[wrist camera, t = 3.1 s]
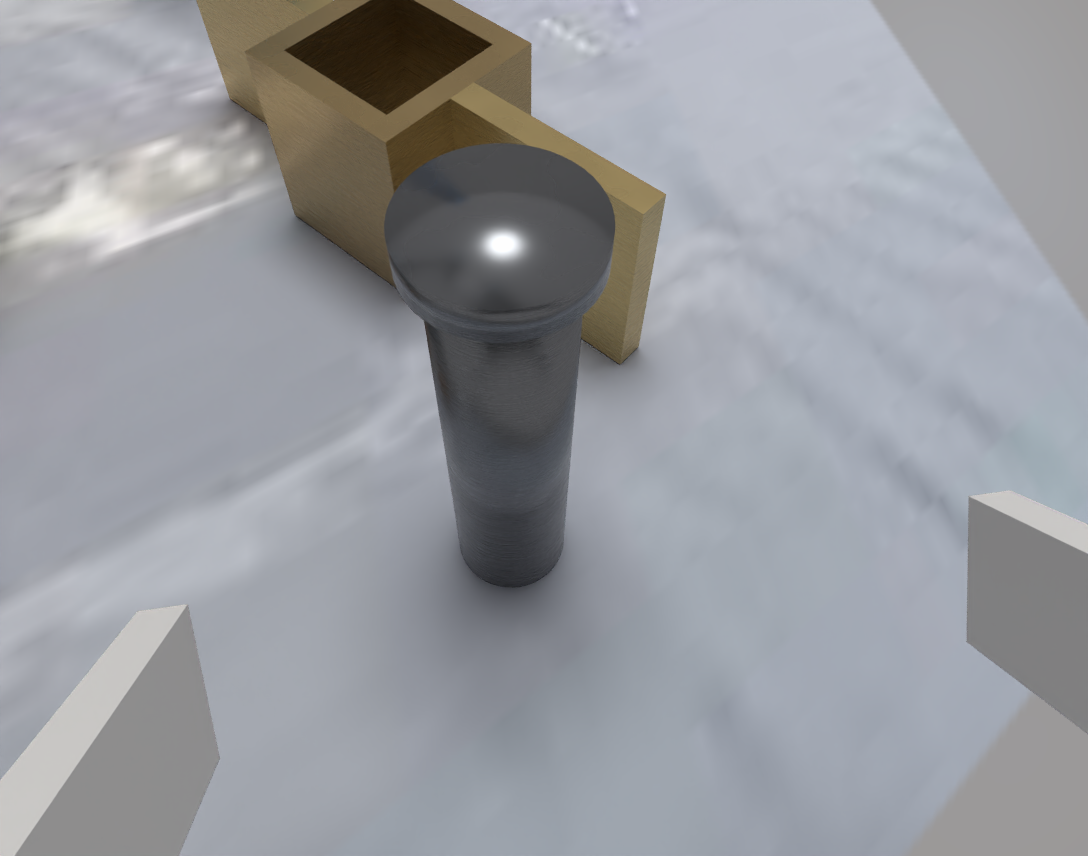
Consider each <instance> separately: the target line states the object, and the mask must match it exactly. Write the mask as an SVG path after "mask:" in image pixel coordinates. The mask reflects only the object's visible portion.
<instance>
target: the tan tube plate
mask: <svg viewBox="0 0 1088 856" xmlns="http://www.w3.org/2000/svg"><path fill="white" fill-rule="evenodd" d="M196 1H197V4H198V7H199V10H200V12H201V15H202V18H203V21H204V24H205V27H206V30H207V33H208V36H209V39H210V42H211V44H212V47H213V50H214V53H215V56H216V59H217V62H218V65H219V68H220V71H221V74H222V77H223V79H224V82H225V85H226V88H227V91H228V94H229V97H230V99H231V100H233V101H234V102H236V103H237V104H238V105H240V106H241V107H243V108H244V109H246V110H247V111H249V112H250V113H252V114H253V115H255V116H256V117H258V118H259V119H260V120H262V121H263V122H265V123H266V124H267V126H268V129H269V132H270V135H271V139H272V142H273V145H274V148H275V151H276V155H277V158H278V161H279V164H280V168H281V171H282V174H283V177H284V181H285V184H286V187H287V190H288V193H289V197H290V200H291V203H292V206H293V210H294V213H295V215H296V216H298V217H299V218H300V219H302V220H303V221H304V222H306V223H307V224H309V225H310V226H311V227H313V228H314V229H316V230H317V231H318V232H320V233H321V234H322V235H324V236H325V237H327V238H328V239H329V240H331V241H332V242H333V243H335V244H336V245H338V246H339V247H340V248H342V249H343V250H345V251H346V252H347V253H349V254H350V255H351V256H353V257H354V258H356V259H357V260H358V261H360V262H361V263H362V264H364V265H365V266H367V267H368V268H369V269H371V270H372V271H373V272H375V273H376V274H378V275H379V276H380V277H382V278H383V279H385V280H386V281H387V282H389V283H390V284H391V285H393V286H394V287H396V285H395V283H394V280H393V275H392V271H391V266H390V261H389V256H388V251H387V246H386V241H385V235H384V221H385V214H386V211H387V208H388V204H389V202H390V200H391V198H392V196H393V194H394V193H395V191H396V190H397V189H398V187H399V186H400V184H401V183H402V182H403V181H404V180H405V179H406V178H407V177H408V176H409V175H410V174H411V173H413V172H414V171H415V170H416V169H418V168H419V167H420V166H422V165H424V164H425V163H427V162H428V161H430V160H432V159H434V158H436V157H438V156H440V155H443V154H445V153H448V152H451V151H454V150H457V149H461V148H465V147H469V146H475V145H481V144H493V143H510V144H520V145H527V146H532V147H537V148H541V149H544V150H548V151H551V152H554V153H556V154H559V155H561V156H563V157H565V158H567V159H569V160H571V161H573V162H575V163H576V164H578V165H579V166H581V167H582V168H584V169H585V170H586V171H587V172H588V173H590V174H591V175H592V176H593V177H594V178H595V179H596V180H597V181H598V183H599V184H600V185H601V186H602V188H603V189H604V191H605V192H606V194H607V195H608V197H609V200H610V202H611V204H612V207H613V211H614V215H615V236H614V244H613V252H612V261H611V269H610V275H609V278H608V281H607V284H606V286H605V288H604V290H603V292H602V294H601V295H600V297H599V298H598V300H597V301H596V303H595V304H594V305H593V306H592V307H591V308H590V309H589V310H588V311H587V312H586V313H585V314H584V315H583V318H582V329H581V338H582V339H583V340H585V341H586V342H588V343H589V344H591V345H592V346H594V347H595V348H597V349H598V350H599V351H601V352H602V353H604V354H605V355H607V356H608V357H610V358H611V359H613V360H614V361H616V362H617V363H619V364H621V363H622V362H623V361H624V360H625V359H626V358H627V357H628V356H629V355H630V354H631V353H632V352H633V351H634V350H635V349H636V348H637V347H638V346H639V341H640V335H641V330H642V324H643V319H644V313H645V308H646V302H647V297H648V291H649V286H650V280H651V275H652V269H653V264H654V258H655V253H656V247H657V242H658V236H659V231H660V225H661V220H662V214H663V208H664V203H665V197H666V194H664V193H663V192H661V191H659V190H658V189H656V188H654V187H652V186H651V185H649V184H647V183H646V182H644V181H642V180H640V179H639V178H637V177H635V176H634V175H632V174H630V173H628V172H627V171H625V170H623V169H622V168H620V167H618V166H616V165H615V164H613V163H611V162H610V161H608V160H606V159H604V158H603V157H601V156H599V155H598V154H596V153H594V152H592V151H591V150H589V149H587V148H586V147H584V146H582V145H580V144H579V143H577V142H575V141H574V140H572V139H570V138H568V137H567V136H565V135H563V134H561V133H560V132H558V131H556V130H555V129H553V128H551V127H549V126H548V125H546V124H544V123H543V122H541V121H539V120H537V119H536V118H534V117H532V116H531V43H530V42H528V41H526V40H524V39H523V38H521V37H519V36H517V35H515V34H513V33H512V32H510V31H508V30H506V29H504V28H502V27H501V26H499V25H497V24H495V23H493V22H491V21H490V20H488V19H486V18H484V17H482V16H480V15H478V14H477V13H475V12H473V11H471V10H469V9H467V8H466V7H464V6H462V5H460V4H458V3H456V2H455V1H453V0H334V1H333V0H196ZM396 288H397V287H396Z"/></svg>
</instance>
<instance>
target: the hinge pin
mask: <svg viewBox="0 0 1088 856" xmlns="http://www.w3.org/2000/svg"><path fill="white" fill-rule="evenodd" d="M384 235H385V241H386V246H387V251H388V256H389V261H390V266H391V271H392V275H393V280H394V283H395V285H396V287H397V290H398V292H399V294H400V295H401V297H402V298H403V300H404V301H405V303H406V304H407V305H408V306H409V307H410V308H411V309H412V311H413V312H415V313H416V314H417V315H418V316H419V317H420V318H422V319H423V320H424V323H425V329H426V335H427V341H428V348H429V354H430V360H431V366H432V373H433V379H434V385H435V391H436V398H437V404H438V410H439V416H440V422H441V429H442V435H443V441H444V447H445V454H446V460H447V466H448V472H449V478H450V485H451V491H452V497H453V503H454V510H455V516H456V522H457V528H458V535H459V541H460V547H461V551H462V555H463V557H464V560H465V561H466V563H467V565H468V566H469V567H470V569H471V570H472V571H473V572H474V573H475V574H476V575H477V576H479V577H480V578H482V579H483V580H485V581H487V582H489V583H492V584H494V585H498V586H504V587H518V586H524V585H528V584H530V583H533V582H535V581H537V580H539V579H541V578H542V577H544V576H545V575H546V574H547V573H548V572H549V571H551V569H552V568H553V567H554V566H555V564H556V563H557V561H558V559H559V557H560V555H561V552H562V548H563V540H564V528H565V517H566V505H567V493H568V481H569V470H570V458H571V446H572V435H573V423H574V411H575V399H576V388H577V376H578V364H579V353H580V341H581V329H582V318H583V315H584V314H585V313H586V312H587V311H588V310H589V309H590V308H591V307H592V306H593V305H594V304H595V303H596V301H597V300H598V298H599V297H600V295H601V294H602V292H603V290H604V288H605V286H606V284H607V281H608V278H609V275H610V269H611V261H612V252H613V244H614V236H615V215H614V211H613V207H612V204H611V202H610V200H609V197H608V195H607V194H606V192H605V191H604V189H603V188H602V186H601V185H600V184H599V183H598V181H597V180H596V179H595V178H594V177H593V176H592V175H591V174H590V173H588V172H587V171H586V170H585V169H584V168H582V167H581V166H579V165H578V164H576V163H575V162H573V161H571V160H569V159H567V158H565V157H563V156H561V155H559V154H556V153H554V152H551V151H548V150H544V149H541V148H537V147H532V146H527V145H520V144H510V143H493V144H481V145H475V146H469V147H465V148H461V149H457V150H454V151H451V152H448V153H445V154H443V155H440V156H438V157H436V158H434V159H432V160H430V161H428V162H427V163H425V164H424V165H422V166H420V167H419V168H418V169H416V170H415V171H414V172H413V173H411V174H410V175H409V176H408V177H407V178H406V179H405V180H404V181H403V182H402V183H401V184H400V186H399V187H398V189H397V190H396V191H395V193H394V194H393V196H392V198H391V200H390V202H389V204H388V208H387V211H386V214H385V221H384Z"/></svg>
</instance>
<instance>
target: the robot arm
mask: <svg viewBox="0 0 1088 856" xmlns="http://www.w3.org/2000/svg"><path fill="white" fill-rule="evenodd" d="M967 643H969V644H970V645H971V646H973V647H974V648H975V649H977V650H978V651H979V652H980V653H982V654H983V655H984V656H986V657H987V658H988V659H990V660H991V661H992V662H994V663H995V664H996V665H998V666H999V667H1000V668H1002V669H1003V670H1004V671H1005V672H1007V673H1008V674H1009V675H1011V676H1012V677H1013V678H1015V679H1016V680H1017V681H1019V682H1020V683H1021V684H1023V685H1024V686H1025V687H1026V688H1028V689H1029V690H1030V691H1032V692H1033V693H1034V694H1036V695H1037V696H1038V697H1040V698H1041V699H1042V700H1044V701H1045V702H1046V703H1048V704H1049V705H1050V706H1051V707H1053V708H1054V709H1055V710H1057V711H1058V712H1060V713H1061V714H1062V715H1063V716H1065V717H1066V718H1067V719H1069V720H1070V721H1071V722H1073V723H1074V724H1075V725H1076V726H1078V727H1079V728H1080V729H1082V730H1083V731H1084V732H1086V733H1087V734H1088V524H1086V523H1083V522H1081V521H1079V520H1076V519H1074V518H1072V517H1070V516H1067V515H1065V514H1063V513H1060V512H1058V511H1056V510H1054V509H1051V508H1049V507H1047V506H1044V505H1042V504H1040V503H1038V502H1035V501H1033V500H1031V499H1029V498H1026V497H1024V496H1022V495H1019V494H1017V493H1015V492H1013V491H1003V492H996V493H989V494H981V495H974V496H969V513H968V581H967ZM219 759H220V756H219V751H218V747H217V742H216V737H215V732H214V728H213V723H212V718H211V713H210V708H209V704H208V699H207V694H206V689H205V684H204V680H203V675H202V670H201V665H200V661H199V656H198V651H197V646H196V641H195V637H194V632H193V627H192V622H191V617H190V613H189V608H188V604H186V605H179V606H172V607H164V608H157V609H150V610H143V611H137V613H136V614H135V615H134V616H133V618H132V619H131V620H130V621H129V623H128V624H127V625H126V626H125V627H124V629H123V630H122V631H121V632H120V634H119V635H118V636H117V637H116V639H115V640H114V641H113V642H112V643H111V645H110V646H109V647H108V648H107V650H106V651H105V652H104V653H103V655H102V656H101V657H100V658H99V660H98V661H97V662H96V663H95V664H94V666H93V667H92V668H91V669H90V671H89V672H88V673H87V674H86V676H85V677H84V678H83V679H82V680H81V682H80V683H79V684H78V685H77V687H76V688H75V689H74V690H73V692H72V693H71V694H70V695H69V696H68V698H67V699H66V700H65V701H64V703H63V704H62V705H61V706H60V708H59V709H58V710H57V711H56V713H55V714H54V715H53V716H52V717H51V719H50V720H49V721H48V722H47V724H46V725H45V726H44V727H43V729H42V730H41V731H40V732H39V733H38V735H37V736H36V737H35V738H34V740H33V741H32V742H31V743H30V745H29V746H28V747H27V748H26V750H25V751H24V752H23V753H22V754H21V756H20V757H19V758H18V759H17V761H16V762H15V763H14V764H13V766H12V767H11V768H10V769H9V770H8V772H7V773H6V774H5V775H4V777H3V778H2V779H1V780H0V856H179V854H180V851H181V849H182V847H183V844H184V842H185V839H186V837H187V835H188V832H189V830H190V828H191V825H192V823H193V821H194V818H195V816H196V813H197V811H198V809H199V806H200V804H201V802H202V799H203V797H204V795H205V792H206V790H207V787H208V785H209V783H210V780H211V778H212V776H213V773H214V771H215V768H216V766H217V764H218V761H219Z"/></svg>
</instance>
